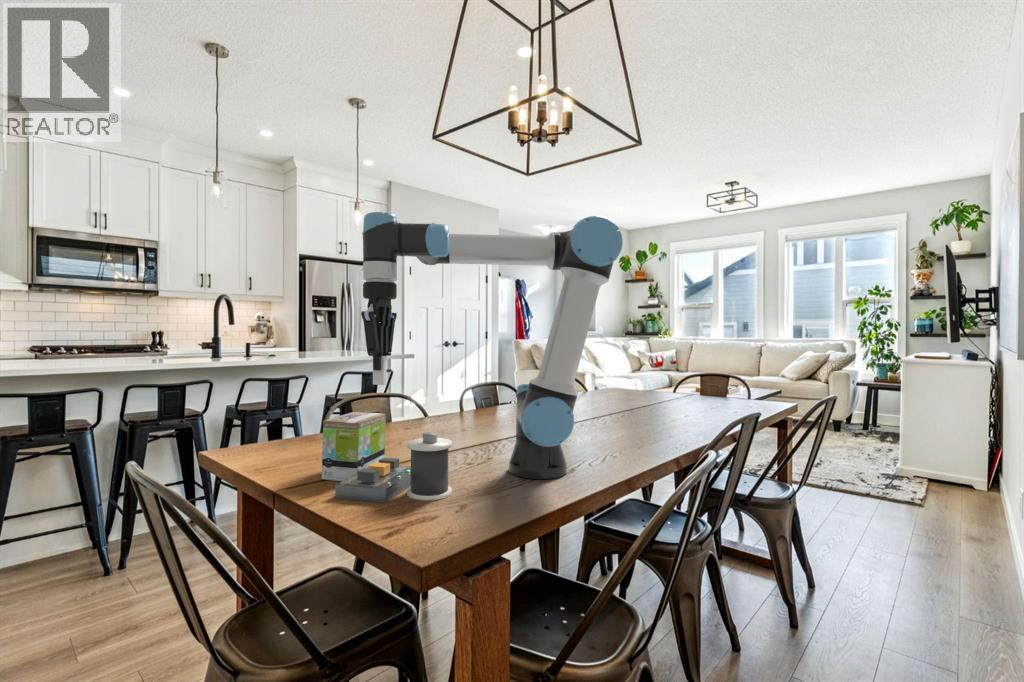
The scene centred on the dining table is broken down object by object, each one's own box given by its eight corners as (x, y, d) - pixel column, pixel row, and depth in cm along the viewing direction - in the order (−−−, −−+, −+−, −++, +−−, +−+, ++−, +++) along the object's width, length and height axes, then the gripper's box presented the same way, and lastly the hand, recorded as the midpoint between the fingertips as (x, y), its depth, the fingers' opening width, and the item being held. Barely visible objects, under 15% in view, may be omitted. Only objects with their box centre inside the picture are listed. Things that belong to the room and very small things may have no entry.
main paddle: (390, 472, 121) (390, 463, 121) (383, 475, 118) (383, 467, 118) (374, 470, 122) (374, 462, 122) (367, 474, 119) (367, 465, 119)
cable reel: (457, 488, 121) (458, 430, 120) (442, 502, 111) (442, 439, 111) (417, 484, 123) (418, 428, 123) (399, 498, 113) (399, 436, 113)
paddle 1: (379, 478, 116) (379, 469, 116) (373, 481, 113) (373, 472, 113) (363, 477, 117) (363, 468, 117) (357, 480, 114) (357, 471, 114)
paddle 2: (399, 466, 126) (399, 458, 125) (394, 469, 123) (394, 461, 123) (383, 465, 126) (384, 457, 126) (378, 468, 124) (378, 460, 124)
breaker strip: (418, 480, 127) (418, 467, 127) (385, 503, 110) (385, 487, 110) (373, 476, 130) (373, 463, 129) (335, 498, 113) (335, 483, 113)
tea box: (358, 483, 124) (358, 422, 124) (320, 480, 126) (320, 420, 126) (386, 466, 139) (386, 412, 138) (351, 464, 141) (351, 410, 140)
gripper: (378, 284, 126) (378, 381, 126) (350, 279, 113) (350, 386, 114) (407, 283, 124) (406, 382, 125) (381, 279, 111) (381, 388, 112)
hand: (379, 384), depth 119 cm, fingers closed
